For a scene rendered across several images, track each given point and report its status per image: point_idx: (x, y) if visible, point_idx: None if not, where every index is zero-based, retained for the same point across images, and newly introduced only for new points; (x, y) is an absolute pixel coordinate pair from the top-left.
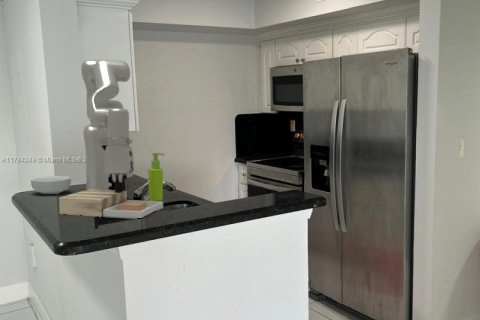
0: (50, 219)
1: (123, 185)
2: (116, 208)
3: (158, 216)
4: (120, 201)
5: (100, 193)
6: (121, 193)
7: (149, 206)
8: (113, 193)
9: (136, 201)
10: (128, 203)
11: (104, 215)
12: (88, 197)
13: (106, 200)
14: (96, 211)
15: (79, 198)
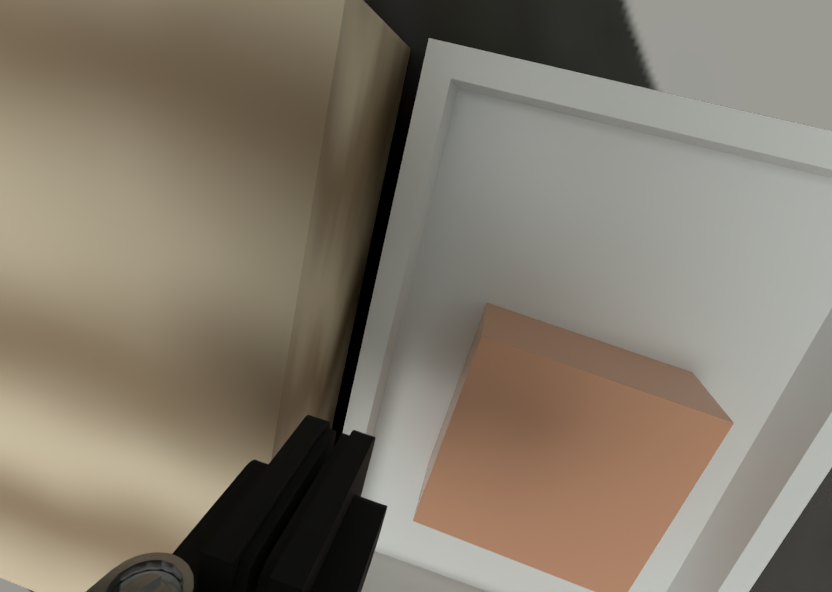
0: None
1: (364, 576)
2: (374, 413)
3: (813, 586)
4: (350, 225)
5: (49, 278)
6: (316, 208)
7: (734, 154)
8: (215, 282)
9: (551, 101)
10: (500, 488)
11: None
12: (68, 543)
13: None
14: None
15: (21, 581)
